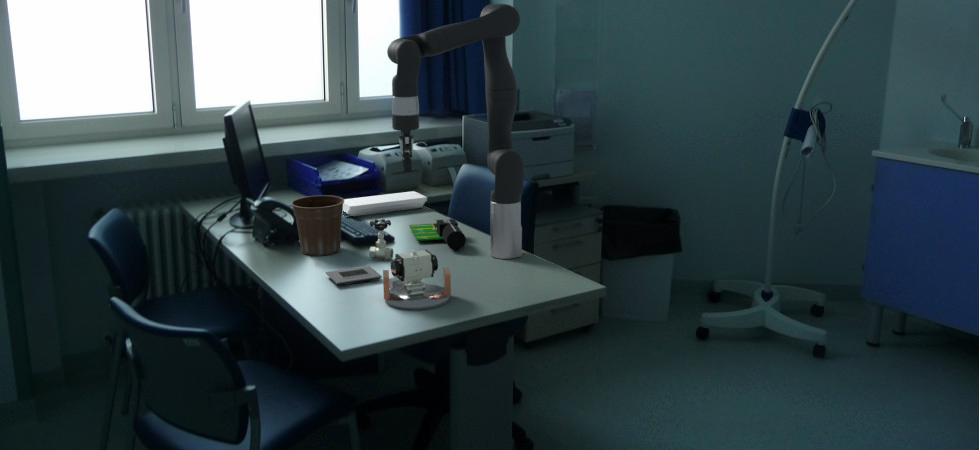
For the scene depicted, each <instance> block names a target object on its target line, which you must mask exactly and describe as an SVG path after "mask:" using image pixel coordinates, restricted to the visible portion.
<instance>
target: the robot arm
mask: <svg viewBox="0 0 980 450" xmlns="http://www.w3.org/2000/svg"><path fill="white" fill-rule="evenodd" d="M520 24H521V16H520V13H519V11H518V10H517V9H516V8H515V7H514V6H513V5H510V4H507V3H490V4H487V5H486V6H484V7H483V8H482V10H481V12H480V15H479V17H477V18H476V17H475V18H473V19H468V20H465V21H461V22H460V21H459V22H454V23H451V24H450V23H449V24H446V25H442V26H439V27H436V28H432V29H429V30H426V31H425V32H421V33H417V34H410V35H407V36H402V37H399V38H396V39H394V40H392V41H391V43H389V45H388V46H387V50H386V52H387V53H386V54H387V57H388V59H389V60H390V61H391V62H392V63H394V64H395V65H397V66H396V67H397V68H396V74H395V75H394V76H393V77H392V81H391V88H392V89H391V91H392V92H391V93H392V96H391V98H392V100H391V123H392V127H391V128H392V129H393V130H394V131H400V134H399V135H398V142H399V149H400V152H401V154H402V155H401V156H402V159H401V161H402V162H401V163H402V167H403V173H406V174H409V173H412V169H413V168H412V158H413V152H414V135H413V134H411V132H412V131H417V130H419V129H420V105H419V104H420V103H419V96H418V95H419V93H418V89H419V88H418V86H419V85H418V79H419V74H420V70H421V68H420V67H421V63H422V58H425V57H434V56H438V55H441V54H443V53H447V52H450V51H452V50H455V49H457V48H460V47H464V46H466V45H470V44H472V43H476V42H480V41H481V42H482V43H481V44H482V49H483V57H484V58H483V59H484V60H483V61H484V62H483V64H484V80H485V83H484V84H485V88H484V89H485V103H486V116H487V117H486V120H487V131H488V132H487V133H488V138H487V151H486V152H487V155H486V156H487V157H486V160H487V161H486V162H487V163H486V164H487V167H488V170H489V171H490V173H491V174H492V175H494V188H493V190H491V192H490V249H489V250H490V256H491V257H493V258H496V259H500V260H501V259H502V260H503V259H504V260H506V259H507V260H508V259H515V258H516V259H517V258H521V257H523V256H522V255H523V251H522V250H523V248H522V247H523V245H522V244H523V241H522V240H523V235H522V234H523V227H522V223H521V222H522V221H521V220H522V219H521V217H522V216H521V215H522V213H521V212H522V205H521V204H522V203H521V201H522V194H523V192H524V179H525V162H524V159H523V156H522V155H521V154H520V153H519V152H517V150H514V148H513V141H512V128H513V124H514V123H513V122H514V119H515V115H516V111H517V107H518V106H517V105H518V89H517V80H516V76H515V72H514V71H513V68H512V65H511V63H510V61H509V57H508V54H507V46H506V45H507V44H506V43H507V42H506V41H507V40H506V37H509V36H512V35H513V34H514V33H516V32H517V30H518V28H519V27H520Z"/></svg>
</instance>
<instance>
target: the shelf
mask: <svg viewBox="0 0 980 450" xmlns="http://www.w3.org/2000/svg"><path fill="white" fill-rule="evenodd" d="M343 199H344V203H343V211H344V212H346V213H347V214H351V215H352V216H353V217H359V216H367V215H368V216H369V215H374V214H384V213H390V212H397V211H398V212H399V211H405V210H406V211H407V210H415V209H422V208H423V207H424V205H425V202H427V201H428V197H427V196H425V195H423V194H421V193H419V192H416V191H415V190H414V191H406V192H404V191H403V192H396V193H387V194H378V195H370V196H362V197H360V196H359V197H353V198H343ZM351 215H350V216H351Z"/></svg>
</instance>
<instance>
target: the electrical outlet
mask: <svg viewBox="0 0 980 450" xmlns="http://www.w3.org/2000/svg"><path fill="white" fill-rule="evenodd" d="M325 274H326V275H327V276H328V277H329V278H330V279H331V280H332V281H333V282H334V283H335V284H336V285H337V286H341V285H348V284H355V283H361V282H367V281H368V282H370V281H375V280H379V279H382V278H383V275H381V274H380V273H379V272H377V271H376V270H375V269H374V268H373V267H372V266H370V265H365V266H359V267H352V268H344V269H337V270H331V271H325Z"/></svg>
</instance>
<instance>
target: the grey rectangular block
mask: <svg viewBox="0 0 980 450" xmlns="http://www.w3.org/2000/svg"><path fill="white" fill-rule="evenodd" d="M405 284H406V281H401V280H399V279H398V278H397V277H394V276H393V277H391V278H390V277H389V290H390V289H392V288H394V287H397V286H401V285H405Z"/></svg>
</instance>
